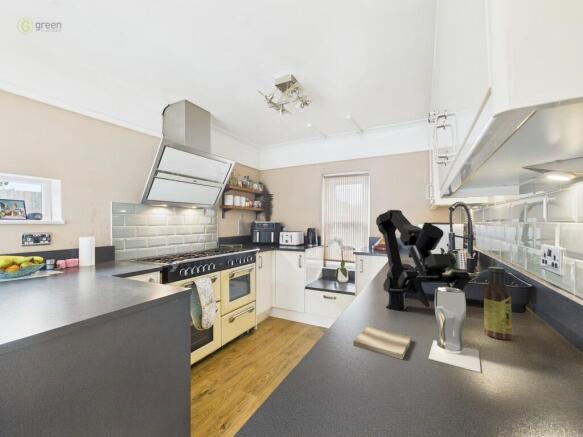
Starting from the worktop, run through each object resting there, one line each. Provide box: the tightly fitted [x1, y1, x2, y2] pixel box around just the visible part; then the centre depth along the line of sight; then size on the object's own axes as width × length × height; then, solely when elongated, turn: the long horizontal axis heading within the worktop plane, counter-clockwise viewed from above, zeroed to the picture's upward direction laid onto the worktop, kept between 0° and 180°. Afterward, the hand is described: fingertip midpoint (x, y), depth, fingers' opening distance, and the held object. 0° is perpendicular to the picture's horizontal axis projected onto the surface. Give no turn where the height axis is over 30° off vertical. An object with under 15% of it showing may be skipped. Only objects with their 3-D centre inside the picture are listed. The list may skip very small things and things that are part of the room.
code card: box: [427, 339, 482, 374], centre depth 63 cm, size 12×10×1 cm
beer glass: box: [434, 286, 467, 354], centre depth 66 cm, size 7×7×15 cm
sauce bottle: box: [483, 266, 513, 340], centre depth 75 cm, size 7×6×20 cm
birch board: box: [352, 326, 412, 360], centre depth 68 cm, size 12×12×1 cm
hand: (445, 307), depth 68 cm, fingers open, 9 cm apart
